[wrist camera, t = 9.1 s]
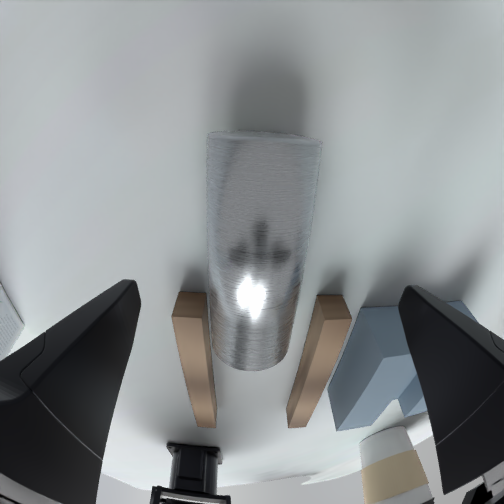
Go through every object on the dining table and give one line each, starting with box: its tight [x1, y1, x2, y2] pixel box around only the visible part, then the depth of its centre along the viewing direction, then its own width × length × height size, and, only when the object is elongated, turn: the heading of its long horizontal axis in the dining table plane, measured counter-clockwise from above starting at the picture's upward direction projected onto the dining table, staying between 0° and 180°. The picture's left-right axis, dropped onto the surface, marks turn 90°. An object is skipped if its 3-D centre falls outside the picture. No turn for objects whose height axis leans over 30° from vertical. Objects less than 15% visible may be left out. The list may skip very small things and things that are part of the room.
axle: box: [207, 131, 322, 371], centre depth 12 cm, size 10×4×4 cm, turn 177°
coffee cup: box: [359, 426, 434, 504], centre depth 22 cm, size 9×9×15 cm
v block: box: [328, 301, 478, 431], centre depth 16 cm, size 9×9×4 cm
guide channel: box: [172, 292, 352, 428], centre depth 17 cm, size 13×9×2 cm
